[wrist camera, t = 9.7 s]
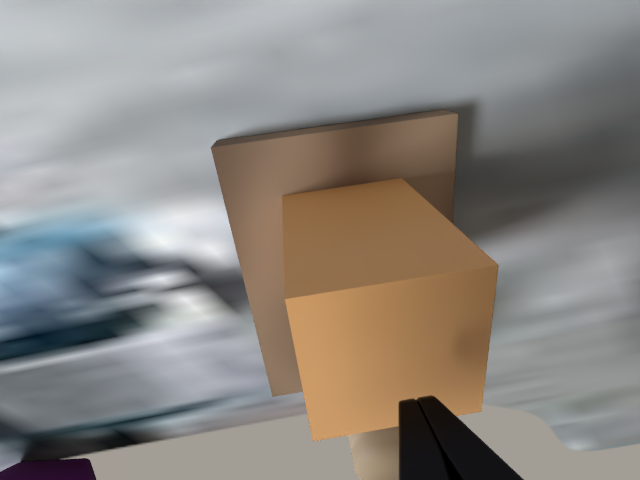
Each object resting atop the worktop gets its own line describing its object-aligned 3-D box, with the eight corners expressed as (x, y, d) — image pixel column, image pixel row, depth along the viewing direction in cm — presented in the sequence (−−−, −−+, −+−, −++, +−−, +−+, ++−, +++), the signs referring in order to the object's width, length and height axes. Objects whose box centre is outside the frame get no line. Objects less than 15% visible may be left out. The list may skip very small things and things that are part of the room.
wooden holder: (442, 109, 16) (563, 140, 9) (435, 349, 22) (503, 472, 15) (216, 140, 15) (169, 196, 9) (272, 376, 22) (270, 515, 15)
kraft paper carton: (401, 178, 15) (498, 264, 9) (403, 279, 18) (481, 411, 11) (281, 195, 15) (284, 299, 8) (299, 296, 18) (312, 441, 11)
